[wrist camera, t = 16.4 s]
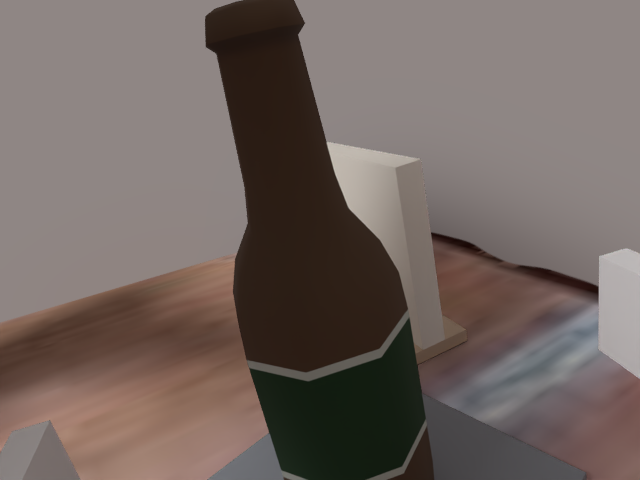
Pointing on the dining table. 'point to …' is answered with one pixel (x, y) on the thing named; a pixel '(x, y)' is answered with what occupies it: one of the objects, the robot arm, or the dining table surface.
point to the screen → (399, 235)
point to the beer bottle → (312, 273)
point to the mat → (437, 453)
